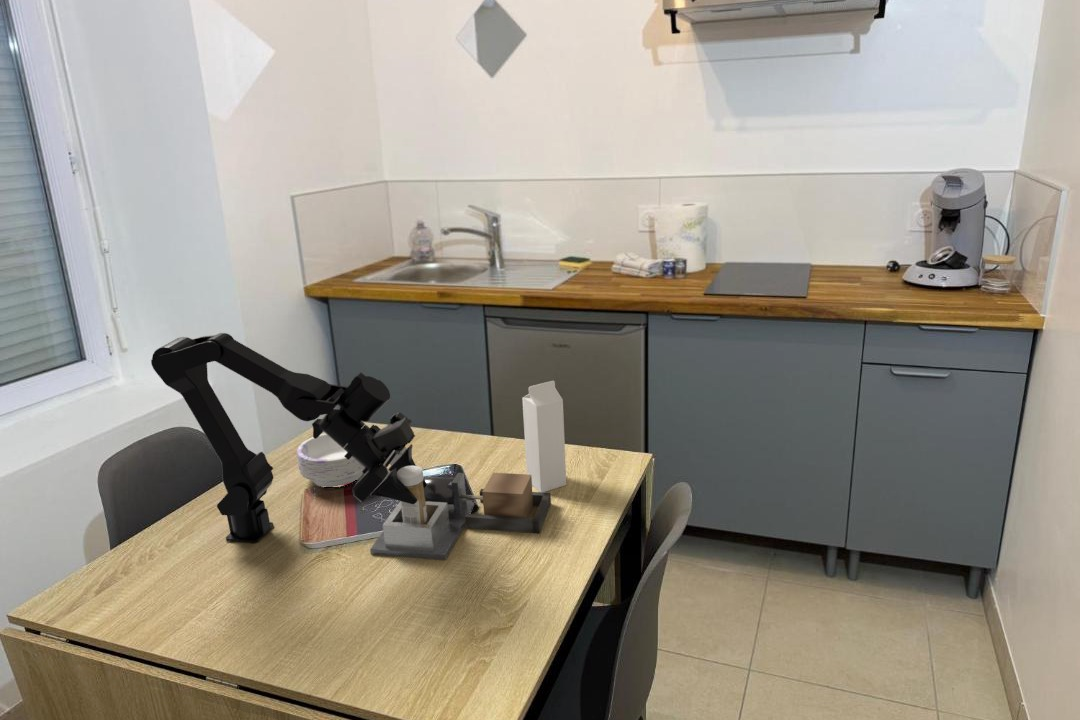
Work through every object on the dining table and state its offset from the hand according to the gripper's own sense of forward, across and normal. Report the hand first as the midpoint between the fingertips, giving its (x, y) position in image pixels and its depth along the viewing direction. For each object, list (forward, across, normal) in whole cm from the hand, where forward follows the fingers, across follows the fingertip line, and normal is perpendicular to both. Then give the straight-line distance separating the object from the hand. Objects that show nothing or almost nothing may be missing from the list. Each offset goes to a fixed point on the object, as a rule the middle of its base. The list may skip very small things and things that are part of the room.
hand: (420, 494), depth 141 cm
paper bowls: (-12, +22, +26) cm, 36 cm away
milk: (+20, +23, -7) cm, 31 cm away
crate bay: (+16, +10, -3) cm, 19 cm away
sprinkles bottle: (+5, 0, +7) cm, 9 cm away
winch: (+8, +4, +6) cm, 10 cm away
